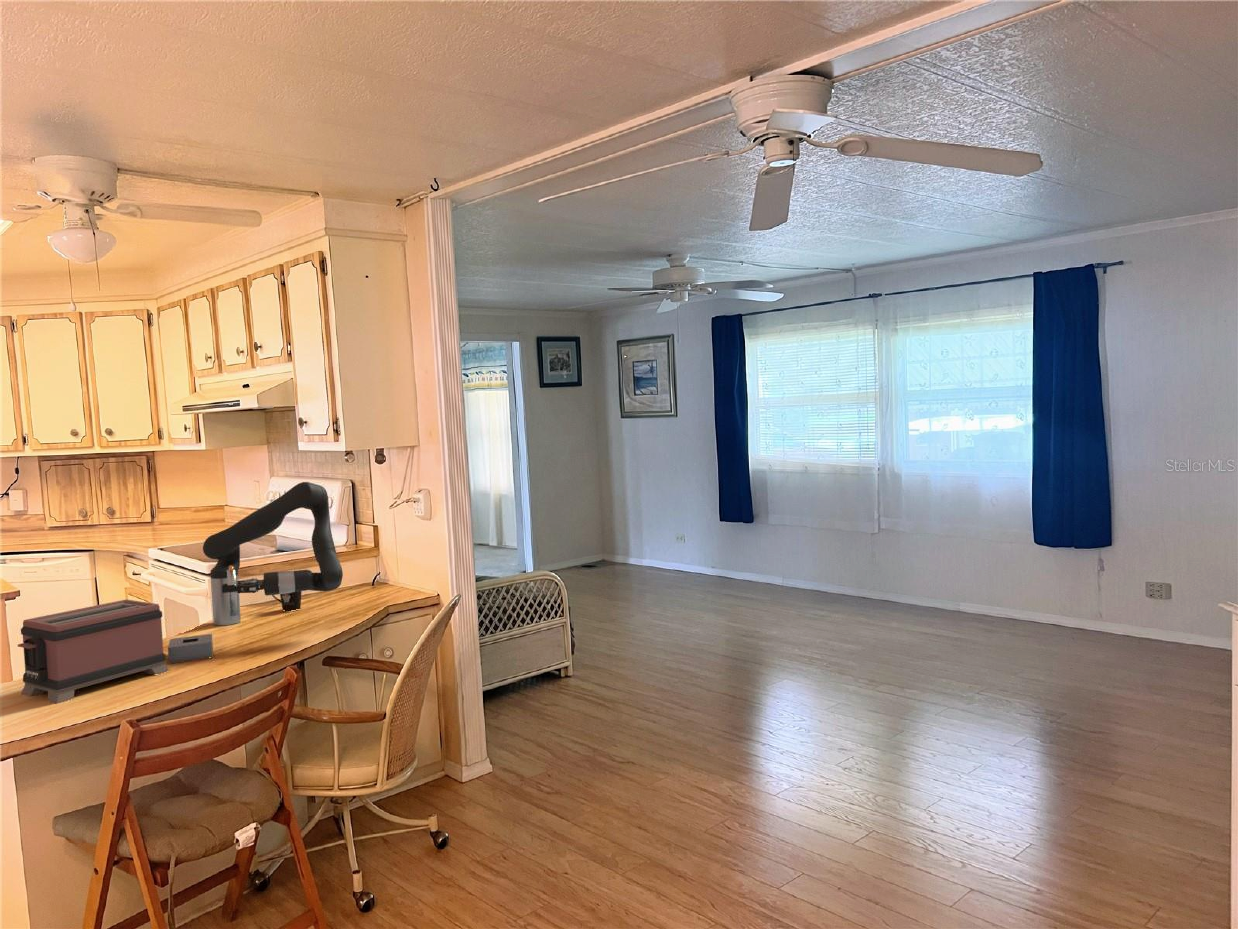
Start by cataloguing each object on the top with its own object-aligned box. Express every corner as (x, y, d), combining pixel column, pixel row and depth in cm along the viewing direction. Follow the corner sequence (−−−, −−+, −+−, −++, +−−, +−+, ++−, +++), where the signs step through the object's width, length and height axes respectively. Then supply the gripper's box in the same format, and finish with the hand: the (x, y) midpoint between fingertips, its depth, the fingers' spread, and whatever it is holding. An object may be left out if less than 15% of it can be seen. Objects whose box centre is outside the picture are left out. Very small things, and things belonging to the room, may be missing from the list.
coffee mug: (308, 608, 330) (306, 583, 330) (289, 613, 323) (287, 587, 323) (289, 606, 337) (288, 581, 336) (270, 610, 329) (268, 585, 329)
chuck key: (229, 614, 277) (226, 565, 276) (238, 613, 278) (235, 564, 277) (229, 617, 272) (226, 568, 271) (238, 616, 273) (235, 567, 272)
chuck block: (171, 654, 270) (170, 638, 269) (212, 648, 275) (212, 633, 274) (168, 663, 259) (167, 647, 258) (212, 658, 264) (211, 642, 263)
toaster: (8, 697, 231) (3, 623, 230) (133, 663, 261) (129, 598, 259) (44, 707, 221) (39, 630, 220) (170, 671, 251) (165, 603, 250)
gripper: (277, 568, 286) (221, 573, 279) (280, 575, 274) (221, 580, 267) (279, 590, 287) (222, 596, 280) (281, 597, 274) (222, 604, 267)
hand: (222, 588), depth 273 cm, fingers closed on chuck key, 2 cm apart
